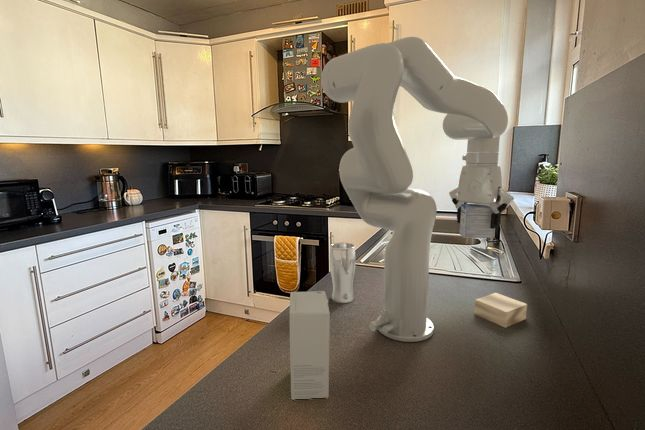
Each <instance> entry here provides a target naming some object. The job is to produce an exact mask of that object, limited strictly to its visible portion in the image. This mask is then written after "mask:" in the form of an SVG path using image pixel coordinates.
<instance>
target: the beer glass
mask: <svg viewBox="0 0 645 430" xmlns="http://www.w3.org/2000/svg"><path fill="white" fill-rule="evenodd" d="M329 246H330V247H329V270H330V276H331V281H332V294H331V300H332V302H334V303H337V304H349V303H351V302H353V301H354V299H355V297H354V290H353V283H354V277H355V271H356V250H355V249H356V246H355V244H354V243H351V242H345V241H344V242H335V243H332V244H330V245H329Z"/></svg>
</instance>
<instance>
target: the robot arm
mask: <svg viewBox="0 0 645 430" xmlns="http://www.w3.org/2000/svg"><path fill="white" fill-rule="evenodd" d="M320 82H321V88H322V91H323V92H324V94H325V95H326V96H327V98H329V99H330V100H332V101H333V102H336V103H340V104H341V103H349V102H350V103H351V102H353V103H352V107H351V111H350V114H349V118H348V128H347V129H348V135H349V138H350V140H351V143H352V146H353V147H352V148H350V149H348V150H347V151H345V152H344V154H343V155H342V157H341V159H340V162H339V167H338V169H339V171H338V172H339V179H340V182H341V185H342V187H343V189H344V190H345V192H346V195H347V196H348V198H349V199H350V201H351V203H352V205H353V207H354V209H355V211H356V212H357V214H358V215H359V217H360V218H361V219H362V221H363V222H364V223H366V225H368V226H370V227H371V226H372V227H374V228H379V229H382V230H383V229H384V230H387V231H388V230H389V231H391V232H393V234H392V236H391V238H390V239H389V241H388V242H387V244H386V246H385V249H384V253H383V254H384V258H383V261H384V262H383V264H384V265H383V269H384V270H383V272H384V273H383V310H381V311H380V315H379V316H378V317H377V318H376V320H372V321H371V322H369V324H368V326H369V329H370V331H372V332H376V331H378V332H380V334H382V336H384V337H387V338H388V339H392V340H394V341H399V342H406V343H414V342H417V343H418V342H421V341H424V340H425V341H426V340H427V339H429V338H431V337H432V335H433V334H434V330H435V329H434V328H435V326H434V323H433V322H432V321H431V320H430V319H429V318H428V303H429V302H428V300H429V299H428V298H429V297H428V295H429V278H430V277H429V276H430V275H429V273H430V254H431V253H430V251H431V240H432V235H433V229H434V226H435V222H436V216H437V212H438V211H437V210H438V209H437V203H436V200H435V199H434V198H433V196H431V194H429V193H428V192H426V191H423V190H421V189H417V188H409V187H411V185H412V182H413V178H414V171H413V166H412V163H411V161H410V158H409V156H408V154H407V151H406V149H405V146H404V143H403V141H402V139H401V136H400V134H399V132H398V128H397V125H396V123H395V118H394V109H395V102H396V98H397V95H398V92H399V88H400V87H401V88H403V89H404V91H406V92H407V93H408V94H409V95H410V96H412V98H414V99H415V101H417V102H418V103H419V104H420V105H421V106H422V107H423V108H424V109H426V110H427V111H431V112H436V113H440V114H444V115H445V114H446V115H445V116H444V117H443V118H444V119H443V121H442V131H443V133H444V134H445V135H446V137H448V138H449V139H452V140H456V141H457V140H458V141H459V140H460V141H461V140H462V141H463V140H464V141H465V140H467V143H466V144H467V145H466V147H467V149H466V154H465V155H462V158H461V159H462V160H463V161H465V164H463V165H462V168H461V170H460V174H459V179H458V186H457V187H456V188H454V189H452V190H450V191H449V193H448V194H449V196H450V199H451V202H452V203H453V205H454V206H455V209H456V220H457V224H460V218H461V205H462V204H484V205H490V207H491V208H492V210H493V213H492V214H491V223H490V228H492V229H494V228H495V229H497V228H499V226H500V225H501V218H502V217H501V216H502V213H503V212H504V211H505V210H506V209H508V208H509V207H510V205H511V204H512V202H514V201H515V200H514V199H515V197H514V196H513V195H511V194H510V193H508V192H507V191H505V190H504V189H503V180H502V179H503V177H502V170H501V165H499V155H500V154H499V152H500V151H499V150H500V140H501V136H502V135H503V134H504V133H505V132H506V130H507V127H508V124H509V116H508V112H507V110H506V107H505V106H504V104H503V103H502V101H501V100H500V99H499V97H498V96H497V95H496V94H495V93H494V92H493V91H492V90H490V89H489V88H487V87H485V86H482V85H480V84H478V83H475V82H472V81H469V80H468V79H464V78H461V77H458V76H455V75H454V74H453V72H452V71H450V69H449V68H448V67H447V65H445V63H444V62H443V61H442V60H441V59H440V57H439V56H438V55H437V54H436V53H435V52H434V51H433V49H432V48H431V47H430V46H429V44H428V43H426V41H424V40H423V39H422V38H420V37H417V36H406V37H403V38H400V39H396V40H393V41H390V42H383V43H382V42H381V43H375V44H371V45H370V44H369V45H367V46H365V47H361V48H359V49H355V50H354V51H351V52H348V53H345V54H342V55H339V56H336V57H333V58H331V59H330V60H329V61H328V62H327V63H325V65H324V66H323V70H322V71H321V77H320ZM502 199H504V201H503V203H501V204H500V202H501V200H502Z"/></svg>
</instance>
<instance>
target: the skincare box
mask: <svg viewBox="0 0 645 430" xmlns="http://www.w3.org/2000/svg"><path fill="white" fill-rule="evenodd" d="M289 294H290V296H289V360H290V361H289V364H290V400H291V399H309V398H323V397H327V398H326V399H329V398H330V397H329V396H330V392H329V389H330V380H329V379H330V378H329V377H330V375H329V374H330V335H331V334H330V329H331V328H330V326H331V325H330V321H331V318H330V317H331V316H330V315H331V313H330V308H329V299H328V298H327V293H326V291H325V290H315V291H314V290H313V291H311V290H310V291H291V292H290V293H289ZM328 397H329V398H328ZM309 400H310V399H309Z"/></svg>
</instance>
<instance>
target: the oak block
mask: <svg viewBox="0 0 645 430" xmlns="http://www.w3.org/2000/svg"><path fill="white" fill-rule="evenodd" d="M527 308H528V304H527V303H525V302H522V301H520V300H517V299H514V298H511V297H509V296H506V295H503V294H500V293H498V292H494V293H490V294H488V295H484V296H482V297H481V296H480V297H478V298H476V299H475V300H474V315H476V316H477V317H480V318H482V319H485V320H487V321H490V322H492V323H493V324H494V323H495V324H496V325H498V326H501V327H503V328H508V327H511V326H513V325H515V324H517V323H520V322H522V321H524V320H526V319H527V312H528V311H527V310H528V309H527Z"/></svg>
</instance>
